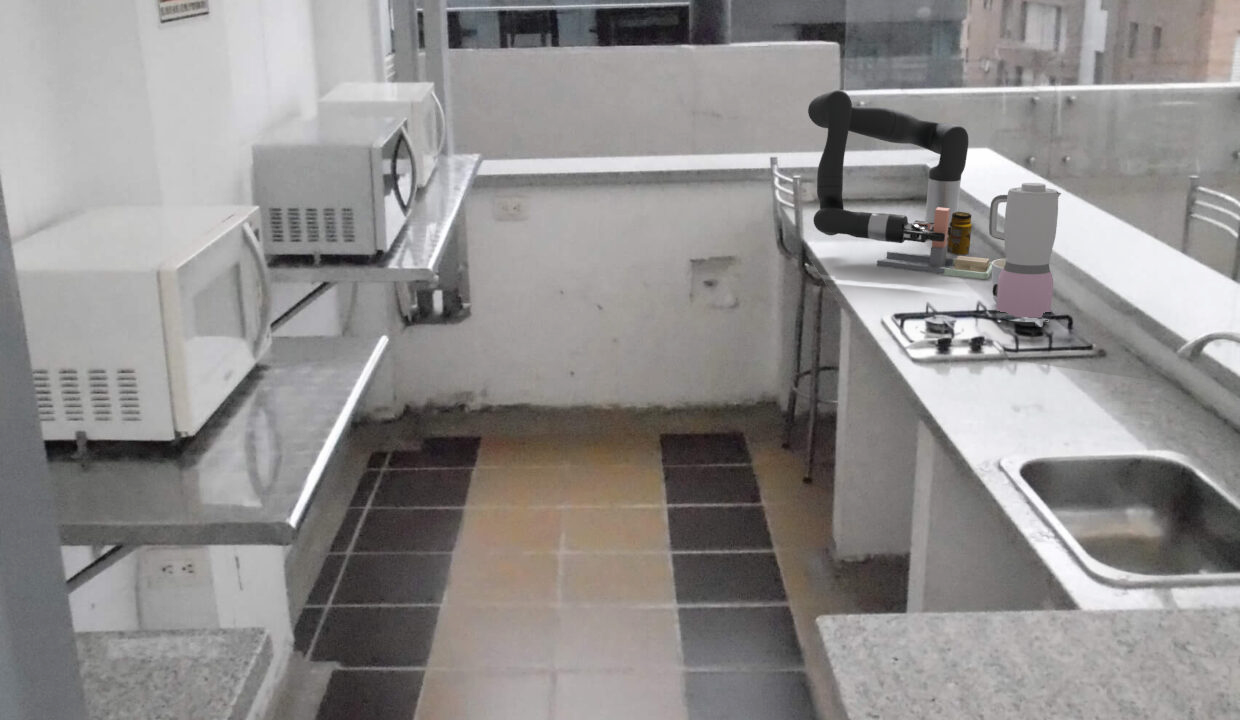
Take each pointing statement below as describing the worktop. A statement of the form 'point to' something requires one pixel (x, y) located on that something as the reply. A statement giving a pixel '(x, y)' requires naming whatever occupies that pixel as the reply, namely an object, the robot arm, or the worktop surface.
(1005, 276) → the blender
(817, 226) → the robot arm
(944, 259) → the pink and grey block
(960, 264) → the wooden cube
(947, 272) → the tray
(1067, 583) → the worktop surface
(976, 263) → the chip
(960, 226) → the condiment
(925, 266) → the slot board
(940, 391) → the worktop surface
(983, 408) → the worktop surface
